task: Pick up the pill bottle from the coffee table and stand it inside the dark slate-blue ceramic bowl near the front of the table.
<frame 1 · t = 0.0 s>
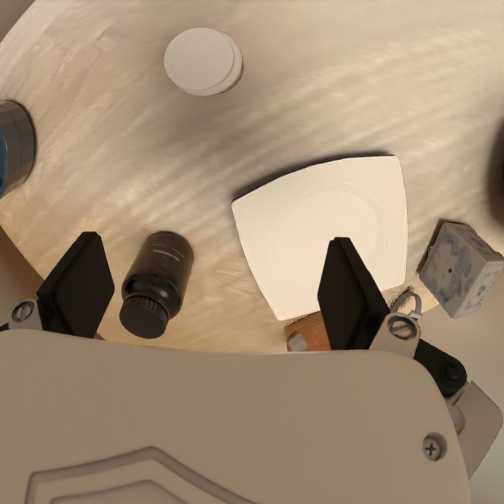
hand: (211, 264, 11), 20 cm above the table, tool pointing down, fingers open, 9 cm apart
small box: (313, 324, 43), on the table
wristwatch: (399, 298, 41), on the table
supplement bottle: (168, 252, 35), on the table
pill bottle: (214, 67, 23), on the table
plate: (328, 236, 34), on the table
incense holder: (444, 248, 36), on the table
blue bowl: (7, 144, 25), on the table
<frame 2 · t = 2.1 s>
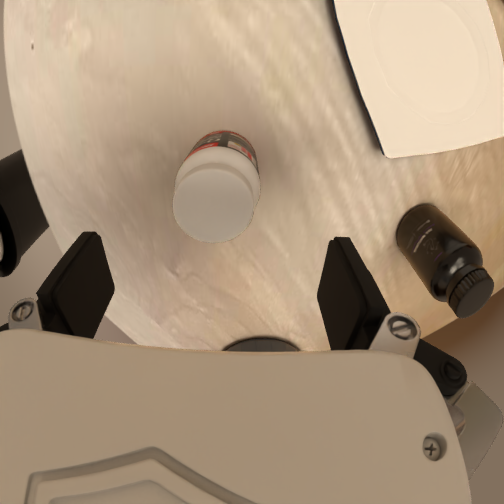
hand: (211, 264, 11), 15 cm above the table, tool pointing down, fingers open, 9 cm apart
supplement bottle: (418, 228, 29), on the table
pill bottle: (223, 160, 24), on the table
plate: (429, 50, 17), on the table
blue bowl: (259, 361, 40), on the table
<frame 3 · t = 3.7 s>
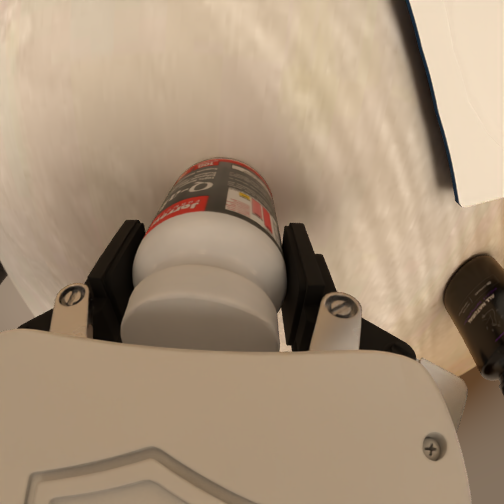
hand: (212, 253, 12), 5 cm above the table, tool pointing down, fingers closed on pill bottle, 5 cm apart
supplement bottle: (468, 281, 20), on the table
pill bottle: (221, 203, 16), on the table, touching gripper
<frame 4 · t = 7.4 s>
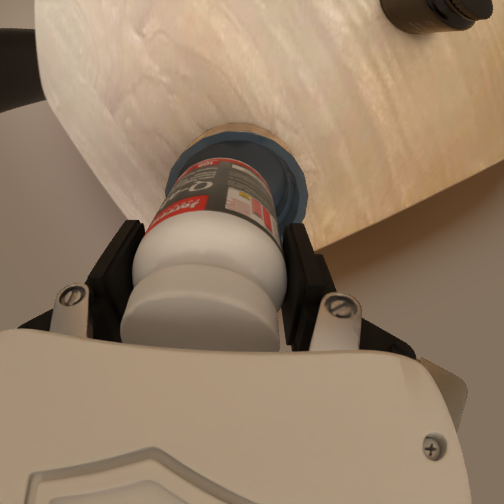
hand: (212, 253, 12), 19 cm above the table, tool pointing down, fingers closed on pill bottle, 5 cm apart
supplement bottle: (404, 9, 18), on the table
pill bottle: (221, 202, 16), point 14 cm above the table, touching gripper
blue bowl: (237, 179, 30), on the table
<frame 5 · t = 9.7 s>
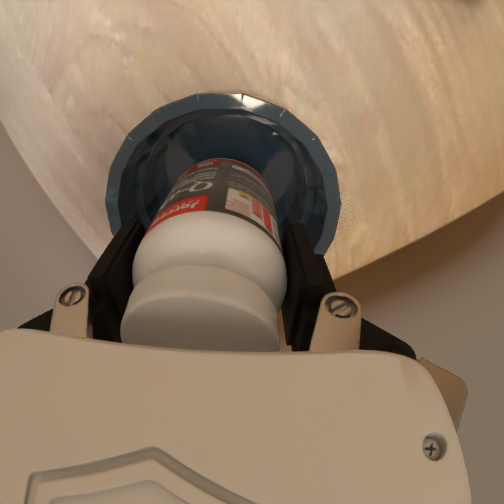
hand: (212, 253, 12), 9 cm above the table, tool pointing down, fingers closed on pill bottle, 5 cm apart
pill bottle: (221, 202, 16), point 4 cm above the table, touching gripper
blue bowl: (226, 179, 19), on the table
when the fingers open (6 cm above the table, at t = 11.1 s): pill bottle stays where it is, resting on blue bowl.
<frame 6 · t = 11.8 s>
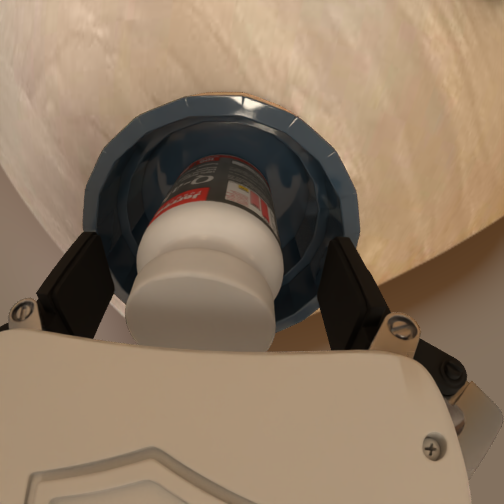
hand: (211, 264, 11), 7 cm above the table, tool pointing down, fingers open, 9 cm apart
pill bottle: (222, 197, 17), point 1 cm above the table, touching blue bowl
blue bowl: (224, 194, 17), on the table
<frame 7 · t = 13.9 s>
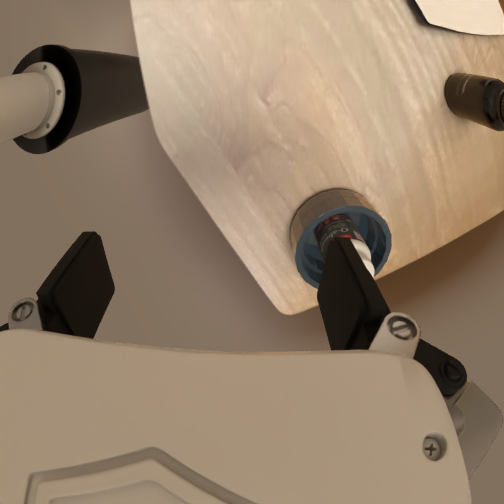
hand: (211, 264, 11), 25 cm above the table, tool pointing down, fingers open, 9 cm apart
supplement bottle: (459, 95, 26), on the table
pill bottle: (334, 231, 38), point 1 cm above the table, touching blue bowl
blue bowl: (334, 229, 39), on the table
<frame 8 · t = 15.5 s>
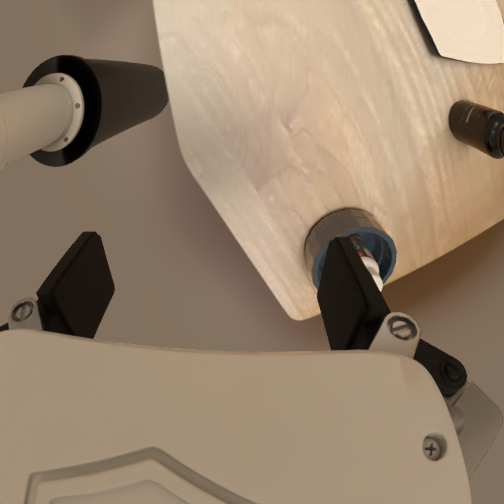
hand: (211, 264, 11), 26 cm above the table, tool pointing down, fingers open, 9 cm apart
supplement bottle: (462, 120, 30), on the table
pill bottle: (344, 245, 41), point 1 cm above the table, touching blue bowl
plate: (454, 3, 19), on the table
blue bowl: (344, 244, 42), on the table
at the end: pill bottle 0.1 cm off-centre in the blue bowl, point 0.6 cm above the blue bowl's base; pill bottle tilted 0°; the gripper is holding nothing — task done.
